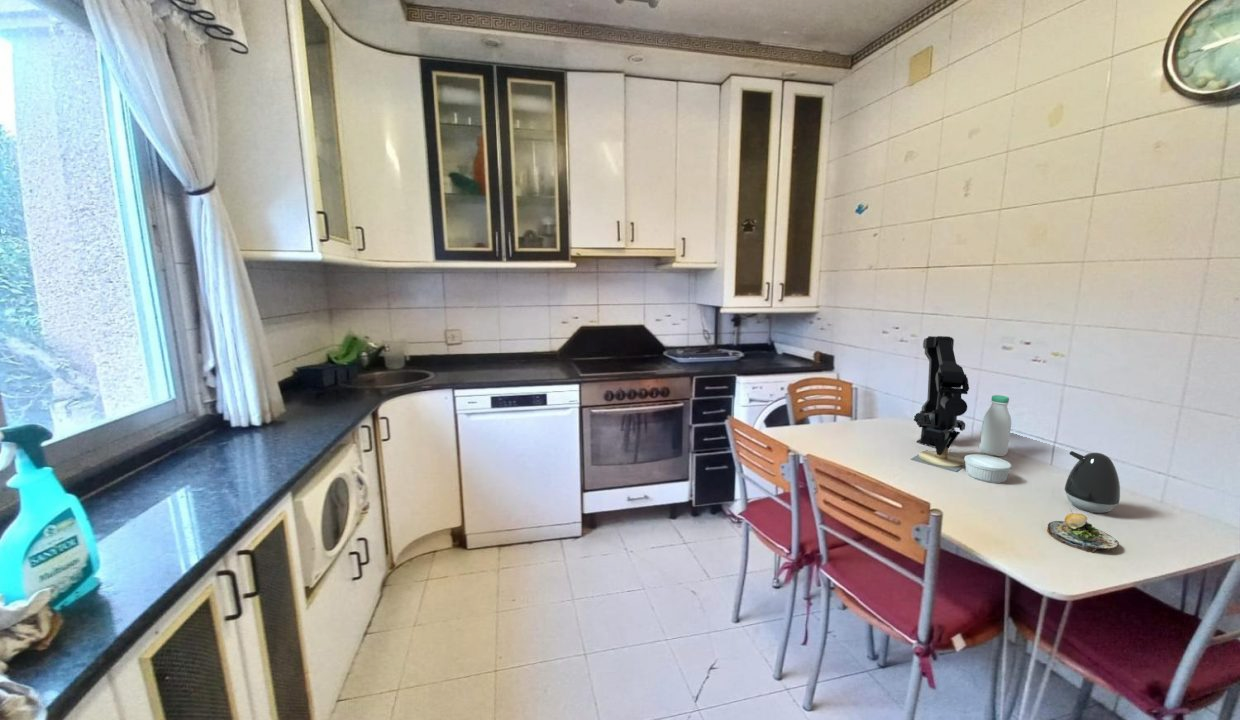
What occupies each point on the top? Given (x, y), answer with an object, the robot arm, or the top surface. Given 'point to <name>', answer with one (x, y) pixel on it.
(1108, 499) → the pump dispenser
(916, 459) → the mat
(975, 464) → the ramekin
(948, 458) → the lid
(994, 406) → the milk bottle
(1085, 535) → the oval plate with food
